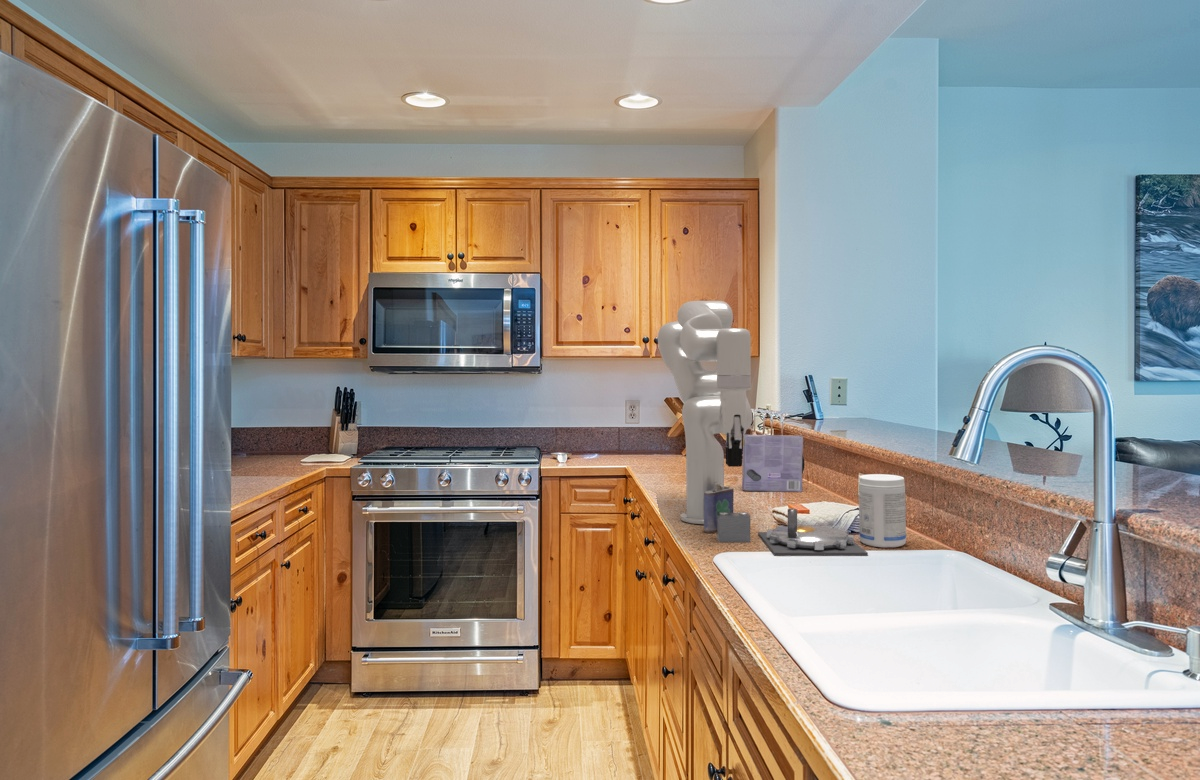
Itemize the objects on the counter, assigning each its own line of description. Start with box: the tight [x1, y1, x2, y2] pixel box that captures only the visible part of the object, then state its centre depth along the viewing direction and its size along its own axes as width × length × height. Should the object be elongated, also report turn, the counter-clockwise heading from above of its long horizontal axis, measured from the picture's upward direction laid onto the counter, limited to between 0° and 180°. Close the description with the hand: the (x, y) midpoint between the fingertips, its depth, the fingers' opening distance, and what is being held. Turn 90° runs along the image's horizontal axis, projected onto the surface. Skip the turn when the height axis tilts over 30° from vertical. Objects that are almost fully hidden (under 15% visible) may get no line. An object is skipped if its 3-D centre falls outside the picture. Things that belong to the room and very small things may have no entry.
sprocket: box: [766, 508, 855, 550], centre depth 160 cm, size 18×18×7 cm
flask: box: [703, 481, 735, 534], centre depth 176 cm, size 10×3×12 cm, turn 133°
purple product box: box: [741, 434, 806, 493], centre depth 230 cm, size 19×5×18 cm, turn 84°
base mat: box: [757, 531, 869, 557], centre depth 161 cm, size 19×19×1 cm
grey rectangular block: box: [716, 511, 751, 543], centre depth 165 cm, size 4×7×6 cm, turn 88°
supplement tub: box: [858, 473, 907, 549], centre depth 161 cm, size 10×10×15 cm
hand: (733, 464), depth 165 cm, fingers closed
